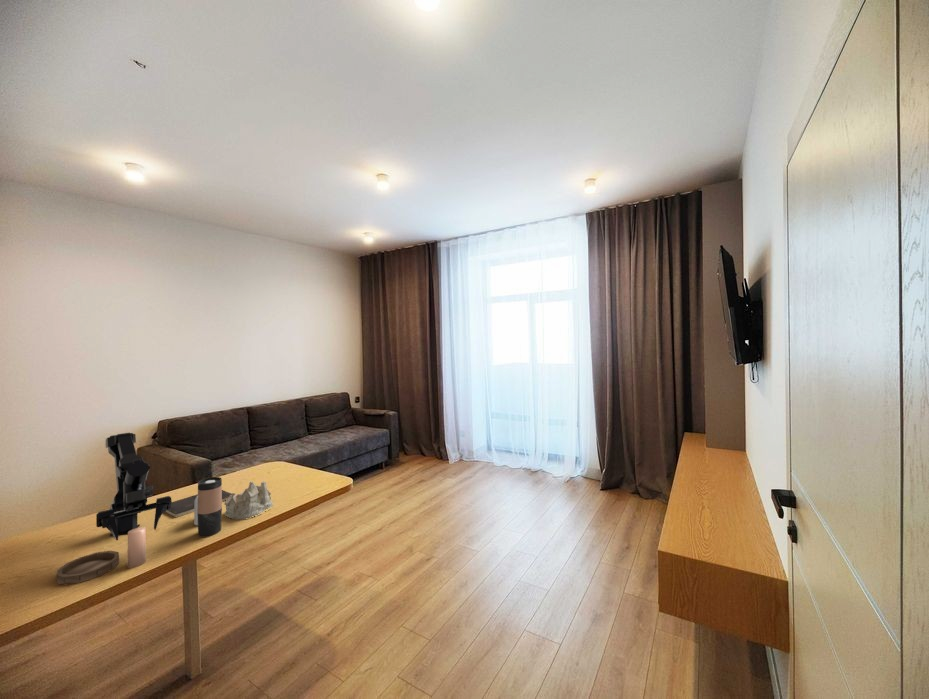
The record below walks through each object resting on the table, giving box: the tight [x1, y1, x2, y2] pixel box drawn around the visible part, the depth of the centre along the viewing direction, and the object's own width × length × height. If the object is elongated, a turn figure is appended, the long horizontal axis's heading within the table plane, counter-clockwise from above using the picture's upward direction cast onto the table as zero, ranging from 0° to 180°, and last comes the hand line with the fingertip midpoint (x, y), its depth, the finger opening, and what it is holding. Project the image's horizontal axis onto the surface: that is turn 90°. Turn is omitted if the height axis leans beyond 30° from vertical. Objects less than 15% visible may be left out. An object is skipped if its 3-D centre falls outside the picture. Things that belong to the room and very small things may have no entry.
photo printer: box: [193, 496, 198, 526], centre depth 146 cm, size 10×4×12 cm, turn 12°
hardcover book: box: [165, 489, 232, 518], centre depth 161 cm, size 16×23×2 cm
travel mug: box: [197, 476, 223, 538], centre depth 136 cm, size 8×8×20 cm
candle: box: [127, 526, 147, 569], centre depth 116 cm, size 4×4×11 cm
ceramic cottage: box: [223, 481, 274, 520], centre depth 154 cm, size 16×16×15 cm
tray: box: [55, 550, 120, 585], centre depth 112 cm, size 14×14×2 cm
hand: (136, 534), depth 117 cm, fingers open, 9 cm apart
